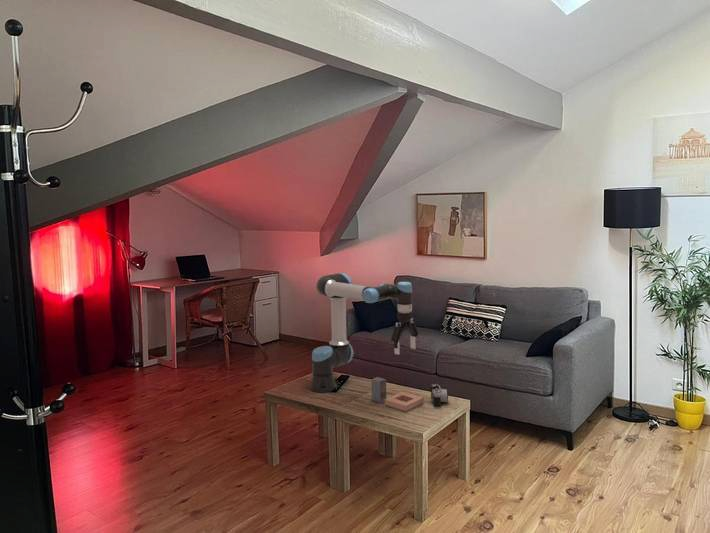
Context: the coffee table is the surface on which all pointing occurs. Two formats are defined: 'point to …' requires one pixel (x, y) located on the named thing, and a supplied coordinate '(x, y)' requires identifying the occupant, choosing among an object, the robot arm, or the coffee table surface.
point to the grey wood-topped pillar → (378, 389)
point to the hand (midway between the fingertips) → (405, 351)
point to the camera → (438, 395)
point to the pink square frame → (404, 401)
